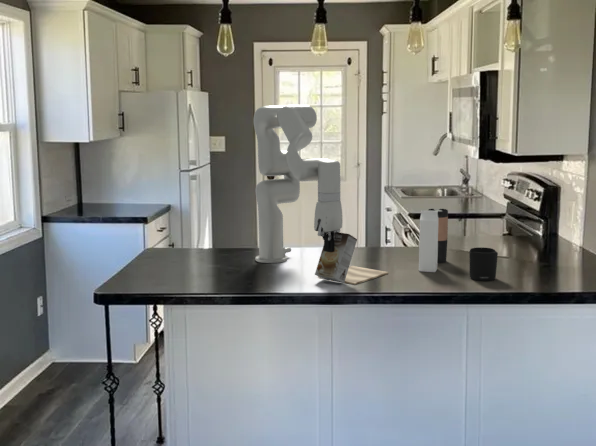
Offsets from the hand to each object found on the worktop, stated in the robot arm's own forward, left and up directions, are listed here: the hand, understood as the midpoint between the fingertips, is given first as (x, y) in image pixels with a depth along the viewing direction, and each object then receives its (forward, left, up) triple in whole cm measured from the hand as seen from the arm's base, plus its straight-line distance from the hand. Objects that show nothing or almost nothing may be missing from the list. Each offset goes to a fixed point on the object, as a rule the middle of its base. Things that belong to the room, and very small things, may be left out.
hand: (329, 251), depth 231 cm
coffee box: (0, 0, -10) cm, 10 cm away
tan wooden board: (-14, 0, -11) cm, 18 cm away
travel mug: (-53, +11, -11) cm, 55 cm away
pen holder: (-39, +37, -11) cm, 55 cm away
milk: (-38, +16, -11) cm, 42 cm away
